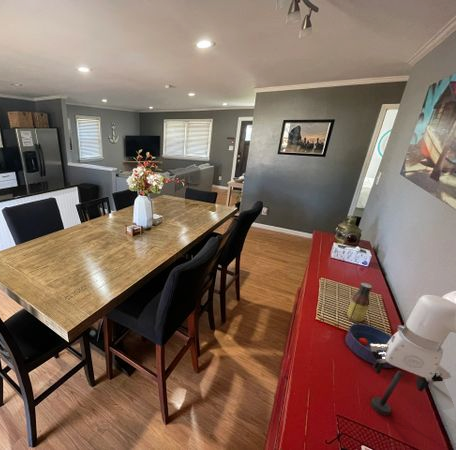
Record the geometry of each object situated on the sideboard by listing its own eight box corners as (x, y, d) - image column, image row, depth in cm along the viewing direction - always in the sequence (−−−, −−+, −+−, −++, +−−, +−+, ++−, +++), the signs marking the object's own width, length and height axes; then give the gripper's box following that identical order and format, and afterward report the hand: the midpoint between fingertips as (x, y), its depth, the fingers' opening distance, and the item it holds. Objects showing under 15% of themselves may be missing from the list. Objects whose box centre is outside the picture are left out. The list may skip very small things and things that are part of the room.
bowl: (408, 365, 94) (415, 354, 92) (374, 372, 91) (380, 361, 88) (365, 331, 109) (370, 321, 107) (335, 336, 106) (339, 326, 104)
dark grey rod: (392, 414, 77) (415, 377, 71) (381, 416, 76) (403, 380, 70) (377, 399, 81) (398, 363, 75) (366, 401, 81) (386, 366, 74)
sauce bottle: (364, 322, 115) (380, 288, 107) (356, 325, 113) (371, 291, 105) (350, 313, 120) (364, 280, 113) (342, 316, 118) (355, 282, 111)
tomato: (357, 336, 103) (358, 343, 101) (366, 337, 101) (367, 344, 99) (358, 339, 104) (359, 346, 102) (367, 340, 102) (369, 347, 100)
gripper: (383, 331, 69) (362, 372, 75) (474, 362, 60) (441, 406, 66) (379, 315, 74) (359, 355, 81) (460, 342, 66) (432, 384, 72)
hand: (396, 378), depth 74 cm, fingers open, 9 cm apart
